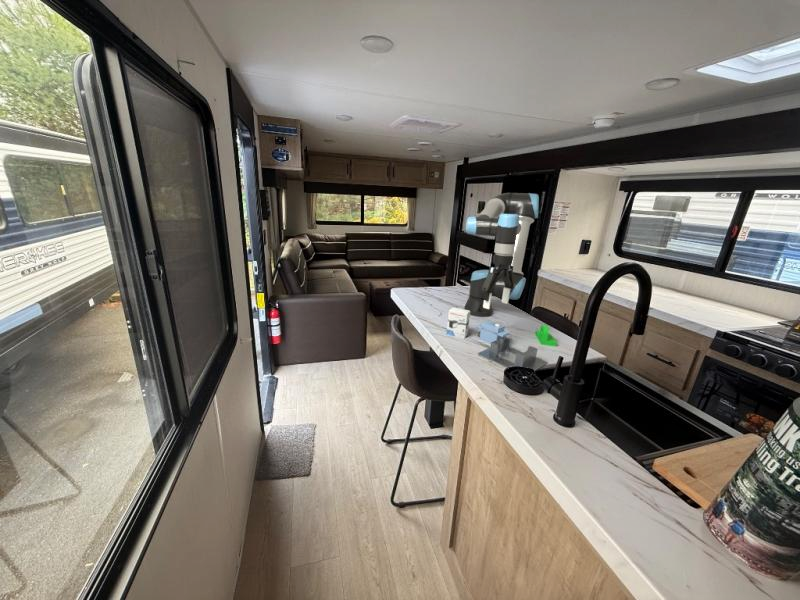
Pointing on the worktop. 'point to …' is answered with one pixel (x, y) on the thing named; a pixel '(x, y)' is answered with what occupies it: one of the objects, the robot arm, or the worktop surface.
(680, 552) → the worktop surface
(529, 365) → the chassis pocket
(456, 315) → the ink box
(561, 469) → the worktop surface
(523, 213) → the robot arm
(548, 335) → the mechanical part
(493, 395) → the worktop surface
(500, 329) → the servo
